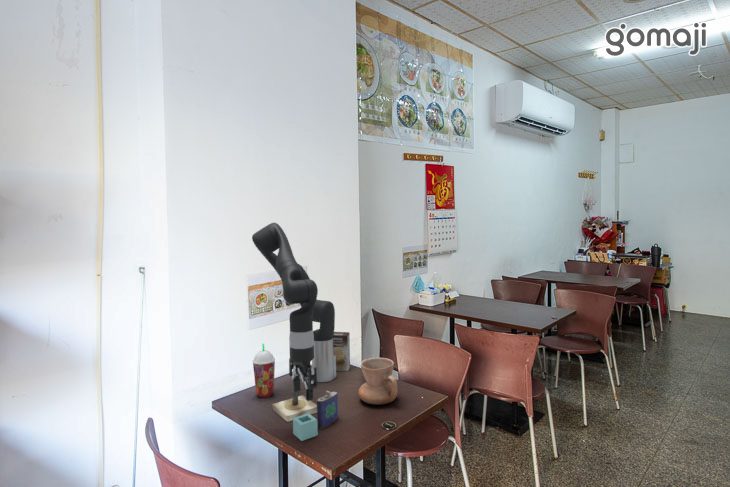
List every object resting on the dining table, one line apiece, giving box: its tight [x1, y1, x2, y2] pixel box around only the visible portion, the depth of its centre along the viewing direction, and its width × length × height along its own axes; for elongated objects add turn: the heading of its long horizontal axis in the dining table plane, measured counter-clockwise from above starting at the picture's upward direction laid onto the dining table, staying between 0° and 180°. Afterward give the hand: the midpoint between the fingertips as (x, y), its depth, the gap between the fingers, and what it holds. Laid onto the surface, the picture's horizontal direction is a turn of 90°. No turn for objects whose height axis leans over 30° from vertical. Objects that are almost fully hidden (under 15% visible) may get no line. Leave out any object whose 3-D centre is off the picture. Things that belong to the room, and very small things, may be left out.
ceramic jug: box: [357, 357, 399, 406], centre depth 155 cm, size 18×14×14 cm
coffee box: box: [333, 331, 351, 372], centre depth 190 cm, size 9×6×16 cm
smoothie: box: [252, 343, 276, 398], centre depth 163 cm, size 8×8×20 cm
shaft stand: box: [272, 384, 317, 423], centre depth 149 cm, size 12×12×9 cm
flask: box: [316, 390, 339, 430], centre depth 140 cm, size 9×3×11 cm, turn 144°
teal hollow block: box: [292, 413, 319, 442], centre depth 132 cm, size 6×6×5 cm
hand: (303, 395), depth 132 cm, fingers open, 8 cm apart
